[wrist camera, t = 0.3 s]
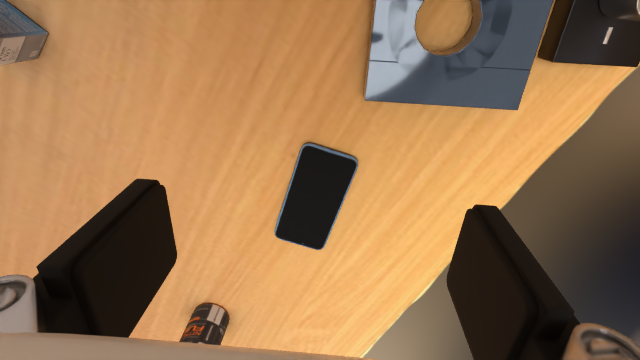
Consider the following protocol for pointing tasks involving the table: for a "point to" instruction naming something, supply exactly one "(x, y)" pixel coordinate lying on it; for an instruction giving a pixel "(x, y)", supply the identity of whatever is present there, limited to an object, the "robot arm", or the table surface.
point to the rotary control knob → (621, 9)
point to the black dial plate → (589, 36)
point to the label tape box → (18, 36)
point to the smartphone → (315, 195)
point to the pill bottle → (206, 325)
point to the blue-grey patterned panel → (455, 56)
